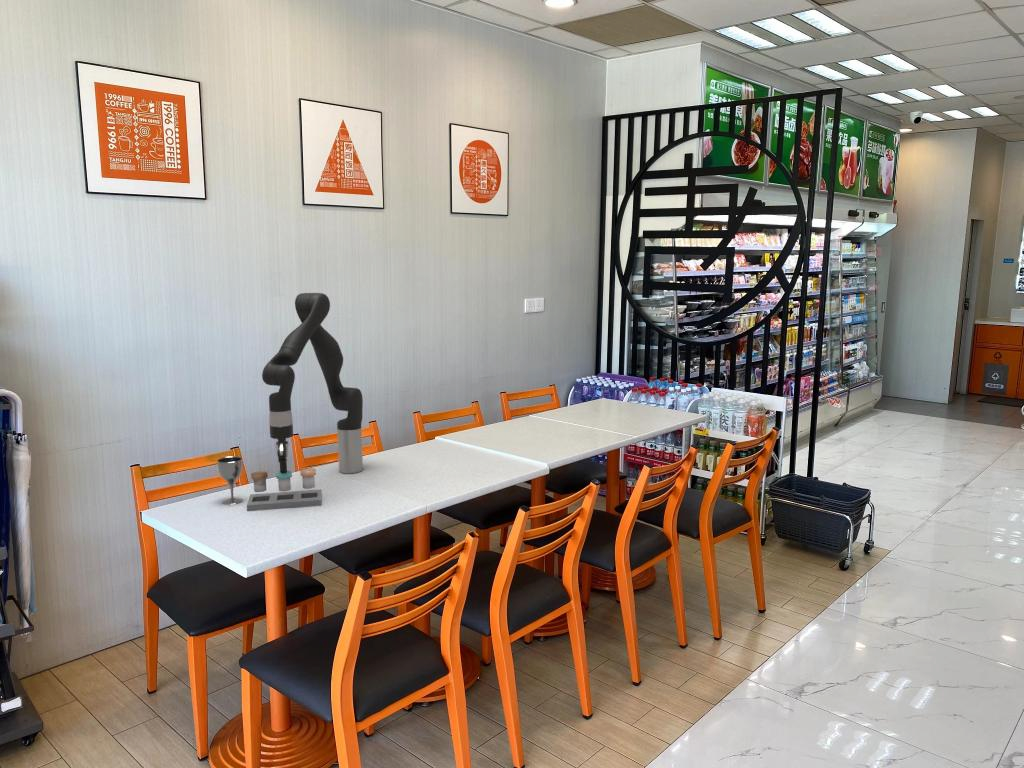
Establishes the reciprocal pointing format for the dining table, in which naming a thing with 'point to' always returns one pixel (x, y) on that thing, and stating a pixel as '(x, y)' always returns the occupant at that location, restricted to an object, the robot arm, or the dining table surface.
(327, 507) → the dining table surface
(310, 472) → the terracotta button
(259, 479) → the walnut button
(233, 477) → the wine glass
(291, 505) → the button board
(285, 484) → the teal button
